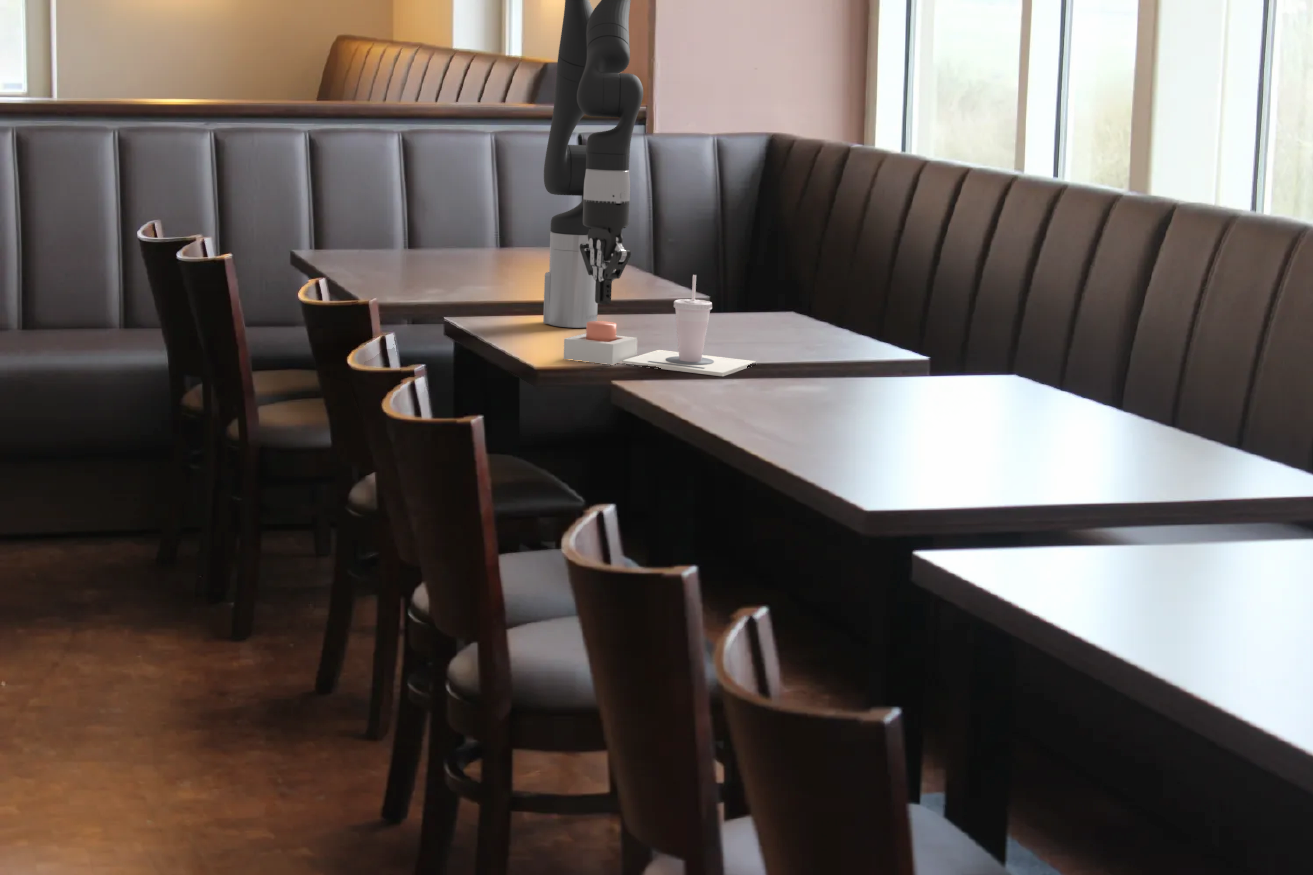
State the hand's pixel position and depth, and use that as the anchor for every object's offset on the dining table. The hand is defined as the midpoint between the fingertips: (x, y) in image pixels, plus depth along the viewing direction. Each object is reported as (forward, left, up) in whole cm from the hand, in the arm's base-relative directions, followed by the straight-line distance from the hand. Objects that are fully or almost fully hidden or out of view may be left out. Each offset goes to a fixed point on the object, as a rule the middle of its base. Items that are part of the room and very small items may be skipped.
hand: (602, 303), depth 281 cm
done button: (0, 0, -7) cm, 7 cm away
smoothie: (+14, +5, -9) cm, 17 cm away
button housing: (0, 0, -9) cm, 9 cm away
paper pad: (+14, +5, -9) cm, 17 cm away
